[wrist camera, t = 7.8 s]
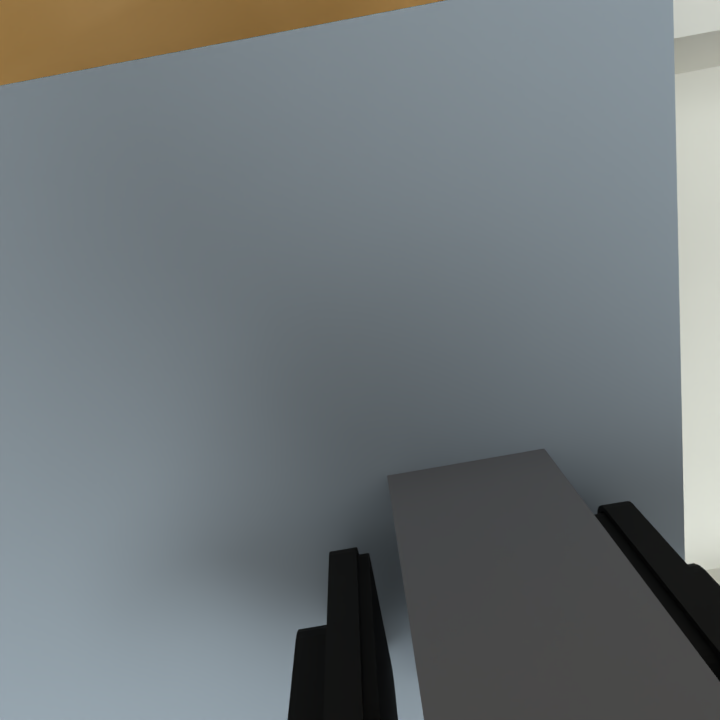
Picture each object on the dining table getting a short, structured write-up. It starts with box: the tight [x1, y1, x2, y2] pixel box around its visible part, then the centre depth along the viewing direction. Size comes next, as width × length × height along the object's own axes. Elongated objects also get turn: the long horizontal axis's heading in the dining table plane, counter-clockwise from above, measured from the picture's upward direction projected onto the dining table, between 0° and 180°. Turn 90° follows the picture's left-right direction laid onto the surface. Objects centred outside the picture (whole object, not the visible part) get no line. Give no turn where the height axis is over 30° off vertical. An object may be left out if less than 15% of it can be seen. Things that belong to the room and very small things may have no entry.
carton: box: [673, 0, 720, 585], centre depth 17 cm, size 20×16×10 cm
